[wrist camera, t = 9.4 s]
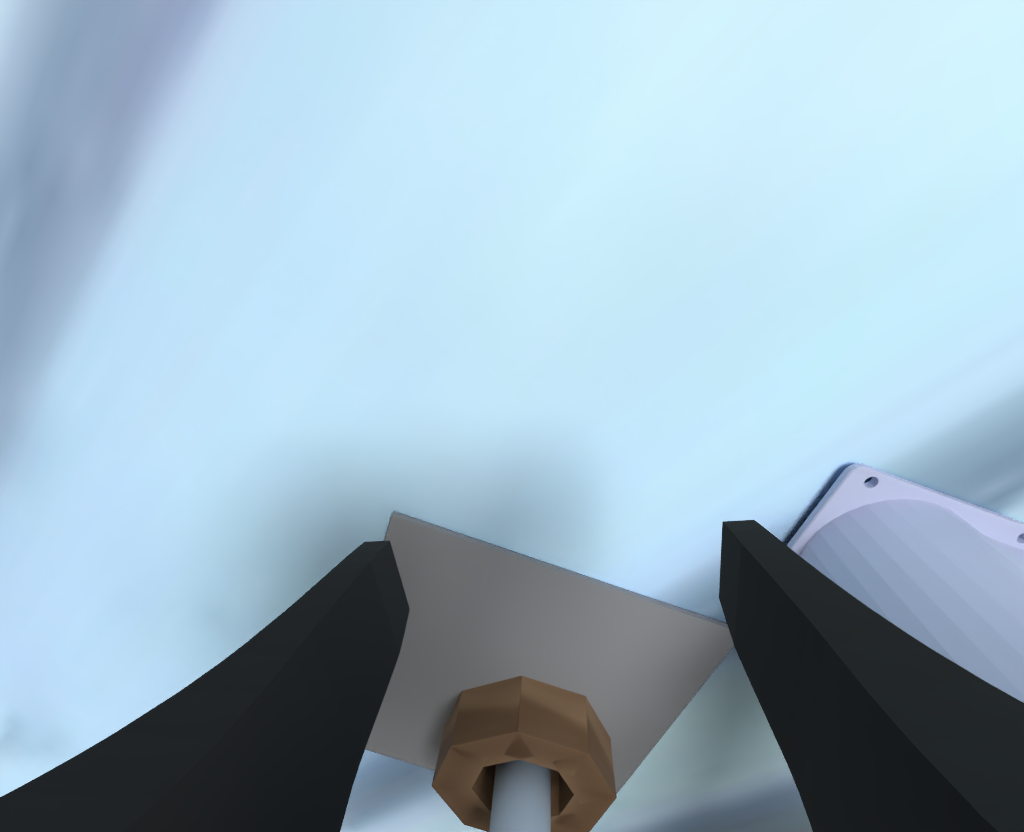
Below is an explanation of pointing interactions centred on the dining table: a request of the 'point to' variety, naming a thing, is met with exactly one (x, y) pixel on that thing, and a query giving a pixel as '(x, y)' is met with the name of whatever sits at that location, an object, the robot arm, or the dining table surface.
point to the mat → (534, 644)
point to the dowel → (521, 798)
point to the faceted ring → (526, 751)
